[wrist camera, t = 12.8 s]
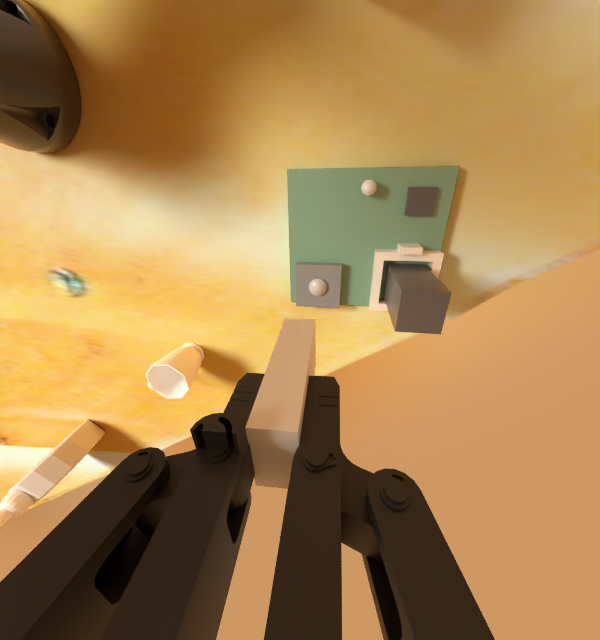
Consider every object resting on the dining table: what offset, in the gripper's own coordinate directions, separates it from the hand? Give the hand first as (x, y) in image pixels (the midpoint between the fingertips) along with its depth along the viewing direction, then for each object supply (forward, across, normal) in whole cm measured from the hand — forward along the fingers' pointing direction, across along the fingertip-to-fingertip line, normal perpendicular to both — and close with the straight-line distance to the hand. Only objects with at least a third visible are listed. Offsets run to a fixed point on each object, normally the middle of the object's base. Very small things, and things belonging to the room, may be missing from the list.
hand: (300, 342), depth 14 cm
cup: (+26, -24, -21) cm, 41 cm away
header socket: (+24, +10, -5) cm, 27 cm away
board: (+26, +5, -1) cm, 26 cm away
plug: (+24, +11, -5) cm, 27 cm away
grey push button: (+26, +1, -6) cm, 26 cm away
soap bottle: (+26, -56, -45) cm, 76 cm away
